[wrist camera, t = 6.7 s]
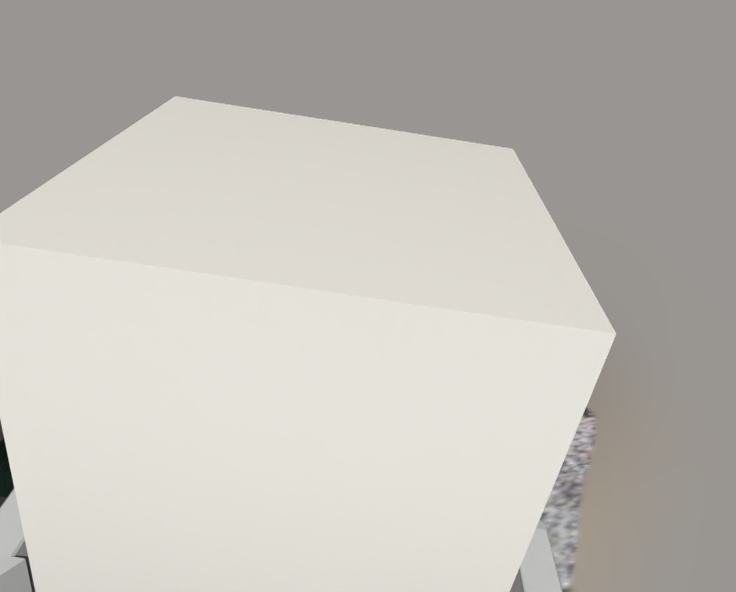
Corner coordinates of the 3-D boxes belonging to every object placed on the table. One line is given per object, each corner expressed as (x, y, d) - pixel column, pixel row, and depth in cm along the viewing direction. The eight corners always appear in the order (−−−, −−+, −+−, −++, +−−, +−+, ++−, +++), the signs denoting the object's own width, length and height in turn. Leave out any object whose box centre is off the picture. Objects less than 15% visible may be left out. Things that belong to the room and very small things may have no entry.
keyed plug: (104, 930, 10) (-38, 239, 4) (194, 633, 14) (195, 82, 8) (357, 959, 10) (617, 334, 4) (370, 656, 14) (502, 130, 8)
